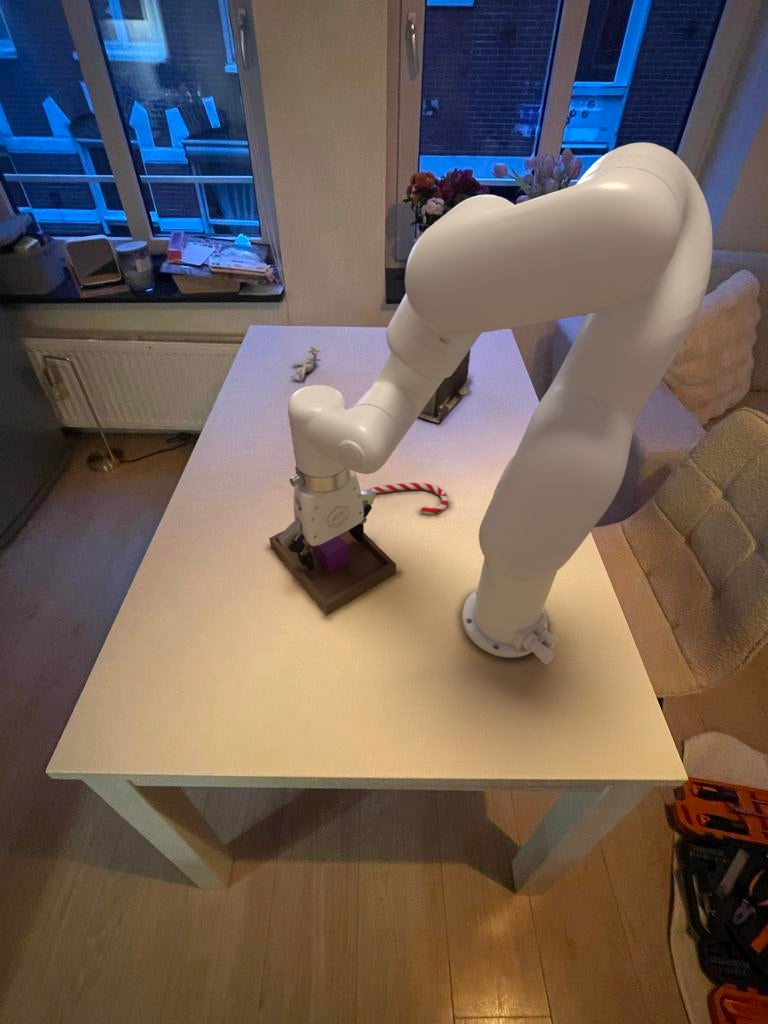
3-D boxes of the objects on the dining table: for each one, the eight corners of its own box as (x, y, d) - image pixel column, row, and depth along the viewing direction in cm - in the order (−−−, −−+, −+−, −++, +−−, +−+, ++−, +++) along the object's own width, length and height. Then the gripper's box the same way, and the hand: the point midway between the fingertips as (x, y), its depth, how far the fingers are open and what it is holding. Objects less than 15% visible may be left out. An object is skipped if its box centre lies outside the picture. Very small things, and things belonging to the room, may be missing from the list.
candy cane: (372, 476, 102) (450, 484, 101) (372, 482, 103) (449, 489, 102) (366, 504, 97) (447, 512, 95) (366, 509, 98) (447, 517, 96)
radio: (452, 372, 134) (458, 314, 124) (483, 381, 131) (492, 323, 120) (404, 414, 120) (406, 354, 110) (436, 426, 117) (442, 365, 106)
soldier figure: (284, 382, 132) (295, 347, 137) (300, 393, 134) (310, 358, 140) (301, 368, 126) (311, 332, 132) (317, 379, 129) (327, 343, 134)
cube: (348, 561, 88) (347, 543, 85) (328, 572, 86) (326, 555, 83) (332, 544, 91) (330, 526, 87) (312, 554, 89) (310, 536, 86)
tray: (396, 573, 86) (396, 564, 85) (326, 615, 81) (325, 606, 79) (336, 514, 96) (335, 504, 95) (271, 547, 91) (268, 537, 89)
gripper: (283, 510, 69) (299, 591, 81) (387, 460, 76) (387, 540, 88) (257, 481, 73) (275, 561, 85) (358, 436, 81) (361, 516, 93)
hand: (332, 550), depth 87 cm, fingers open, 9 cm apart
